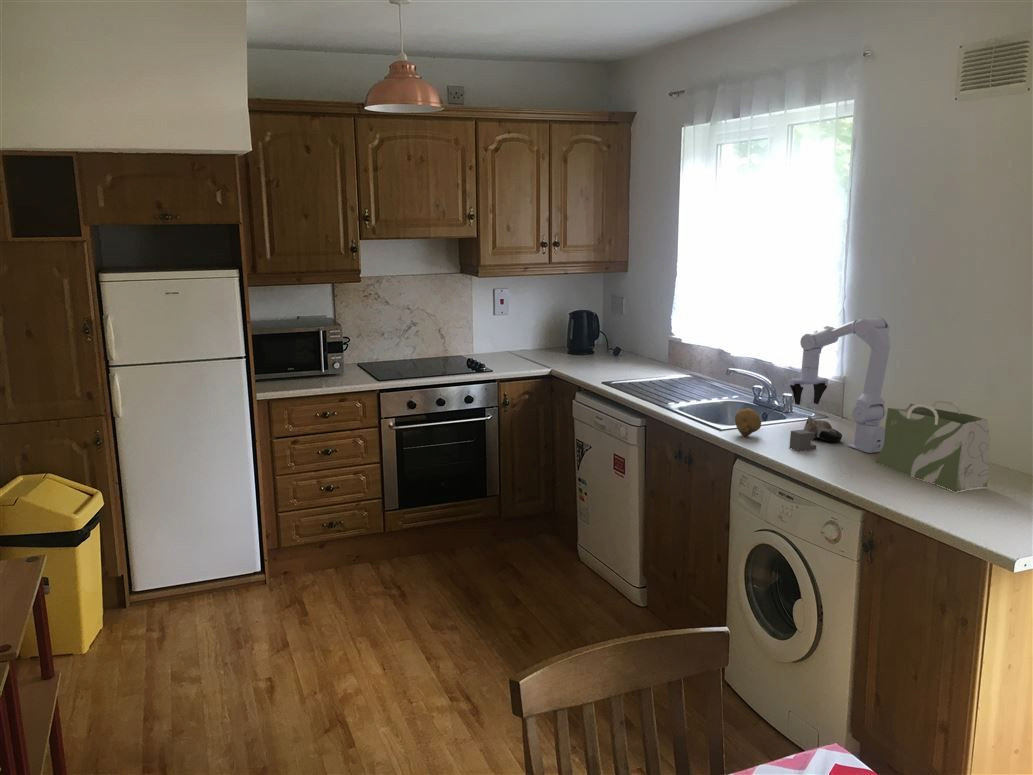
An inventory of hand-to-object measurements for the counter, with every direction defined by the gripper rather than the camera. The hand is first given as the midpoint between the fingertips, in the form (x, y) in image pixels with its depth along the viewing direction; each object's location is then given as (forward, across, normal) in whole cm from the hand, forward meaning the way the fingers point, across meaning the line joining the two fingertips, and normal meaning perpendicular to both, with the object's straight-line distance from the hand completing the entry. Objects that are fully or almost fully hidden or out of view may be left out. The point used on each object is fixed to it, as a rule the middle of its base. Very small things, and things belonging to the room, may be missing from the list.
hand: (806, 403), depth 314 cm
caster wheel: (+10, 0, +12) cm, 16 cm away
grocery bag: (+10, -8, +56) cm, 57 cm away
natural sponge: (+10, +25, +4) cm, 27 cm away
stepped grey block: (+10, +15, +22) cm, 29 cm away
